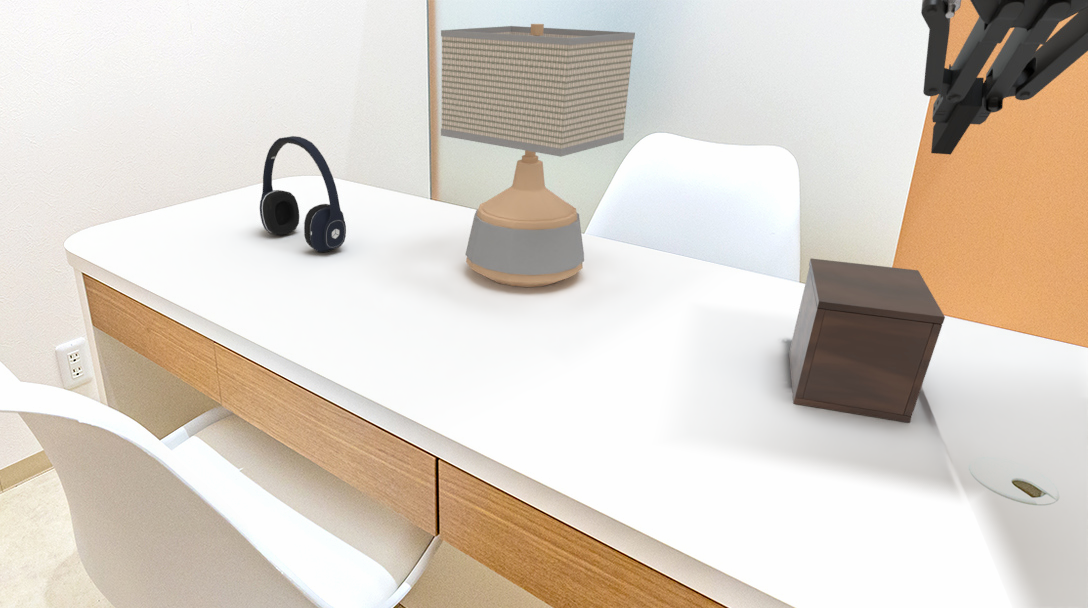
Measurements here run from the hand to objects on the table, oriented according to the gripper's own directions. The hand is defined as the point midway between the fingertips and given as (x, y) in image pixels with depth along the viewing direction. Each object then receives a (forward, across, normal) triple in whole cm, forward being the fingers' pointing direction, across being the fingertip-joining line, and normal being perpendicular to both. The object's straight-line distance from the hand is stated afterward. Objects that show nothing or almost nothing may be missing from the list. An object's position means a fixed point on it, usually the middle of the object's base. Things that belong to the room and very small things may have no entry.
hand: (942, 140), depth 65 cm
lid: (+21, 0, +5) cm, 22 cm away
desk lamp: (+45, +45, -3) cm, 64 cm away
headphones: (+46, +86, -3) cm, 98 cm away
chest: (+29, 0, +13) cm, 32 cm away
